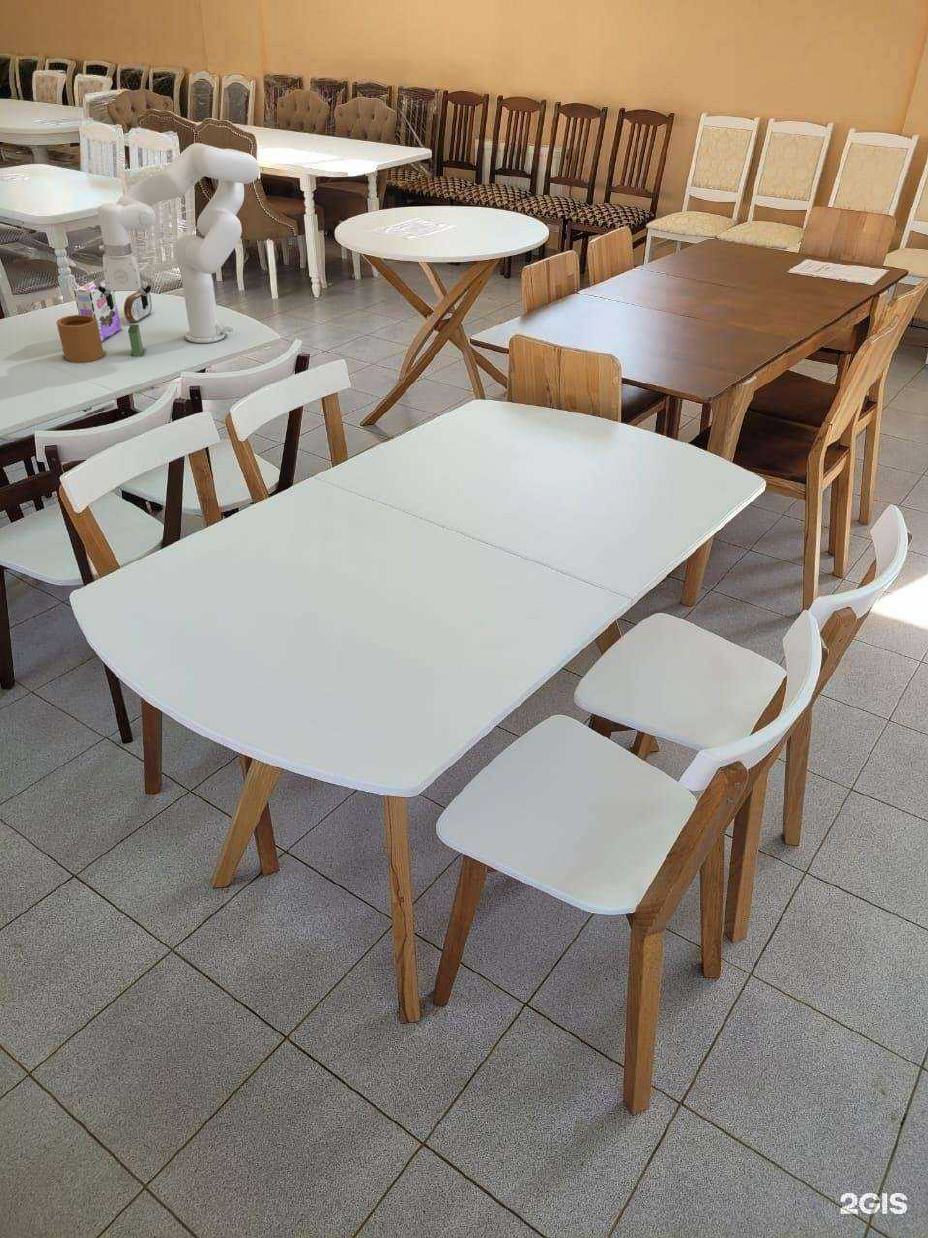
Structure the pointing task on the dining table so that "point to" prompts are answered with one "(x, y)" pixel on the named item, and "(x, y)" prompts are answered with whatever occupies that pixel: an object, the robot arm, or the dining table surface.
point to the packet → (135, 340)
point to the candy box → (98, 308)
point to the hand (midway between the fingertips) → (128, 308)
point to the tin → (136, 307)
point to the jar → (80, 338)
